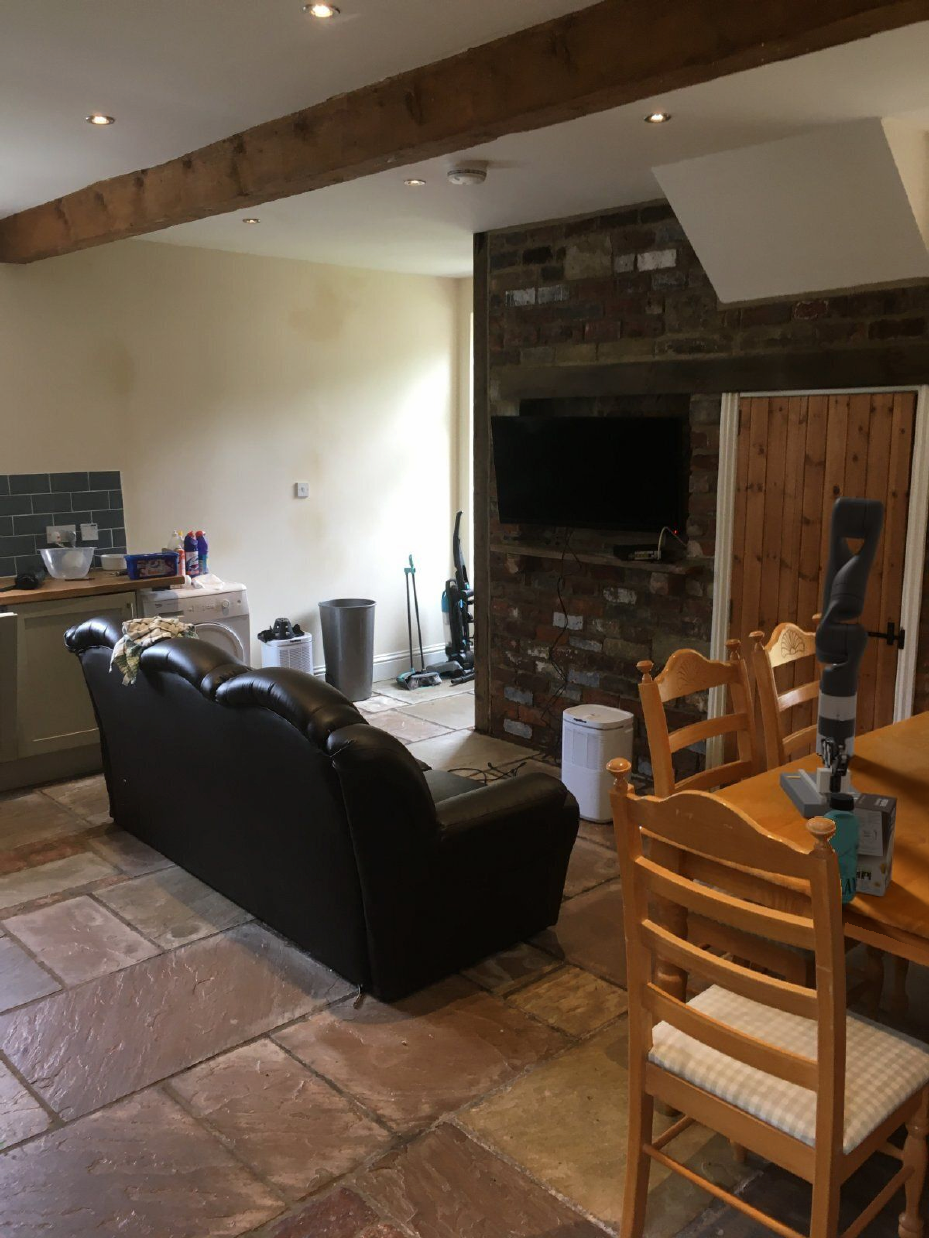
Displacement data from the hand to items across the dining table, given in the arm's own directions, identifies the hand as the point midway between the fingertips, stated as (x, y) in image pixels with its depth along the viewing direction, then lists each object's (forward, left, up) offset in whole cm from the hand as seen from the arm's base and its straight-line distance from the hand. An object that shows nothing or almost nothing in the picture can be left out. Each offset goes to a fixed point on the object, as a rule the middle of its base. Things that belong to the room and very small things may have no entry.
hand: (832, 789), depth 219 cm
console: (-7, 0, -5) cm, 8 cm away
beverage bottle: (+45, -12, -5) cm, 47 cm away
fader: (0, 0, -2) cm, 2 cm away
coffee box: (+37, -4, -5) cm, 38 cm away
